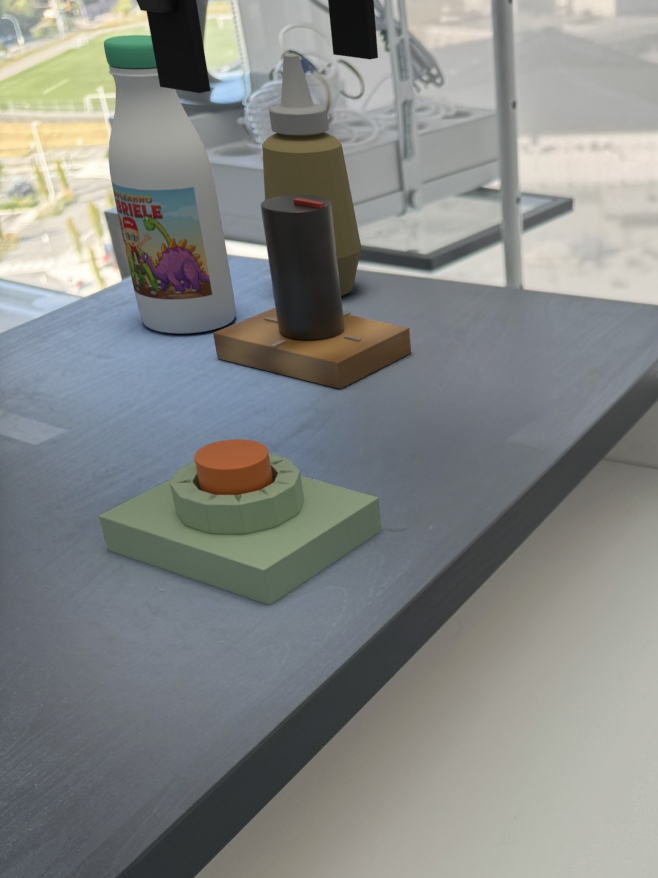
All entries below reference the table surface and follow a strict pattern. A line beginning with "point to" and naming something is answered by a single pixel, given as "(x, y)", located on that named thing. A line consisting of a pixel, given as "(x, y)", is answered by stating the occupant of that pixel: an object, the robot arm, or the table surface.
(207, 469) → the push button
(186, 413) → the table surface
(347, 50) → the robot arm
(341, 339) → the panel
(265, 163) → the squeeze bottle
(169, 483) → the green button base
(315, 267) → the knob
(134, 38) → the milk bottle
